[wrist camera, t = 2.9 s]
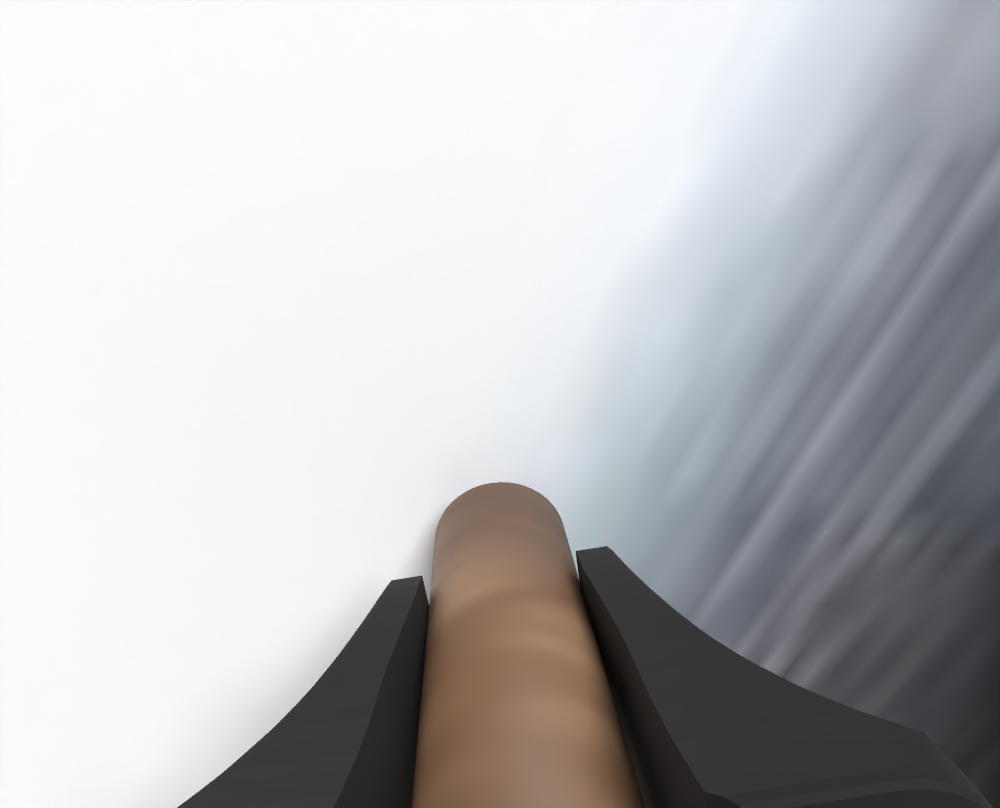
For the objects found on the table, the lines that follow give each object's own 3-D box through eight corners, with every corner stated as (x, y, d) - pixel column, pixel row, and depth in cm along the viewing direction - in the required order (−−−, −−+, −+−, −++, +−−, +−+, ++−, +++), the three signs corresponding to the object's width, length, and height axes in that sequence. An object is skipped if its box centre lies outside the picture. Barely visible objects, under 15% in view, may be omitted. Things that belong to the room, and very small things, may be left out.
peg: (556, 472, 14) (658, 791, 7) (571, 585, 15) (676, 975, 8) (424, 493, 14) (377, 837, 7) (447, 605, 15) (430, 1016, 8)
